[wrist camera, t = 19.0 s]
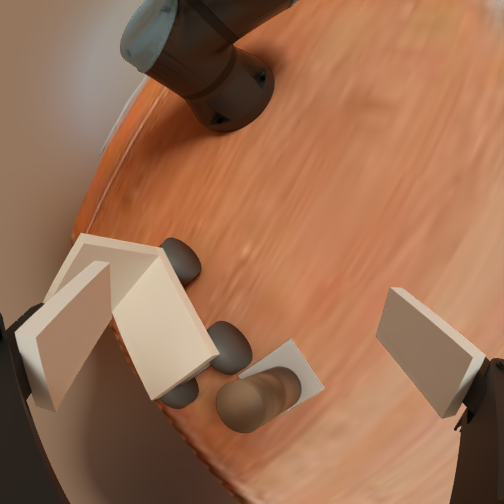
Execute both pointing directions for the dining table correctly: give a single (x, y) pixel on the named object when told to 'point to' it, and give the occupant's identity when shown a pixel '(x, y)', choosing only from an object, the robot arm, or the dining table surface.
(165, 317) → the trolley
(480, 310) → the dining table surface
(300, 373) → the pad
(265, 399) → the cylindrical block
